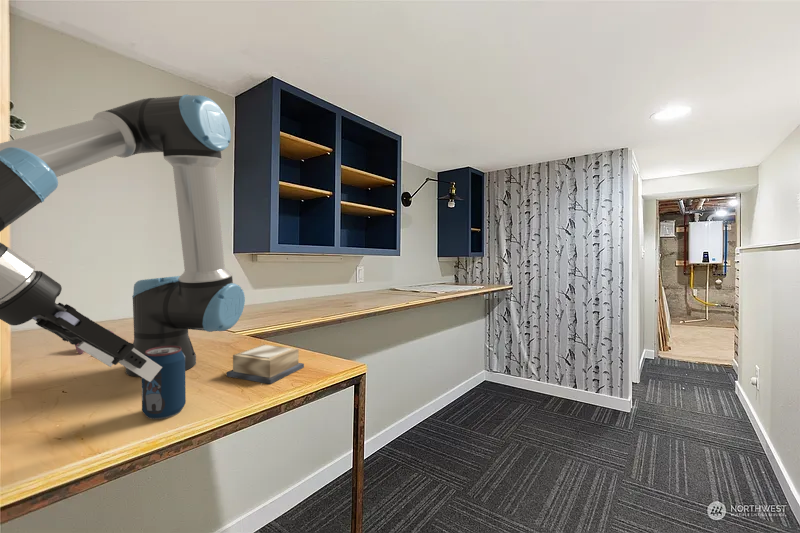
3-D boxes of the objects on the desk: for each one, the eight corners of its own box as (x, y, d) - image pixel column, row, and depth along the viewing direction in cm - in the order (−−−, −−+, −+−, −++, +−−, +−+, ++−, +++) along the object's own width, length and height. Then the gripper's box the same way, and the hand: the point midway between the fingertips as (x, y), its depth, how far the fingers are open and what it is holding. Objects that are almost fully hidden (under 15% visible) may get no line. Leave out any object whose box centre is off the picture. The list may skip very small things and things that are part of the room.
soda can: (183, 401, 75) (183, 343, 75) (187, 415, 70) (186, 351, 69) (142, 409, 71) (141, 347, 71) (142, 424, 66) (141, 357, 65)
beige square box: (226, 376, 90) (226, 354, 90) (263, 361, 103) (263, 342, 102) (270, 384, 86) (270, 361, 86) (303, 367, 98) (304, 347, 98)
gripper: (-42, 301, 56) (84, 372, 70) (16, 321, 43) (156, 403, 57) (7, 264, 60) (117, 338, 74) (73, 273, 48) (190, 360, 61)
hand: (134, 366), depth 65 cm, fingers open, 13 cm apart
